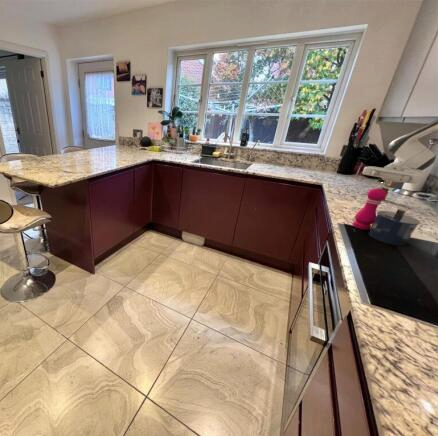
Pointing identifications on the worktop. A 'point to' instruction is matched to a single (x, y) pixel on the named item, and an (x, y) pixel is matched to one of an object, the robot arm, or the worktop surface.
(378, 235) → the pot
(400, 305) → the worktop surface
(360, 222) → the pepper mill
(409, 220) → the pot lid
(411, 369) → the worktop surface
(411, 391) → the worktop surface
